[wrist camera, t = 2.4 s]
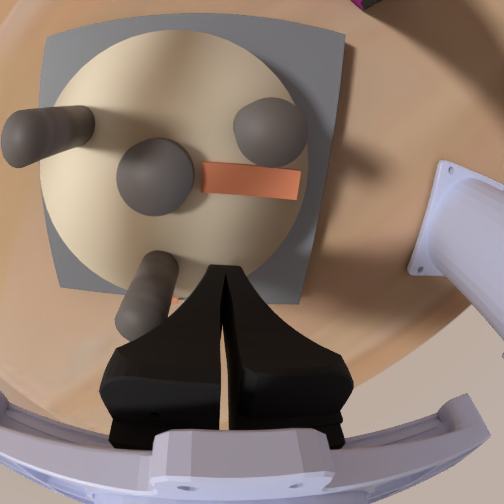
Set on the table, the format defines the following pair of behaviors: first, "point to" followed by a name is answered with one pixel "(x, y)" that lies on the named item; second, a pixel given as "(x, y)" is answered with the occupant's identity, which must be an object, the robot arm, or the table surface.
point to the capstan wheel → (167, 165)
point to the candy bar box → (365, 3)
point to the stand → (288, 72)
